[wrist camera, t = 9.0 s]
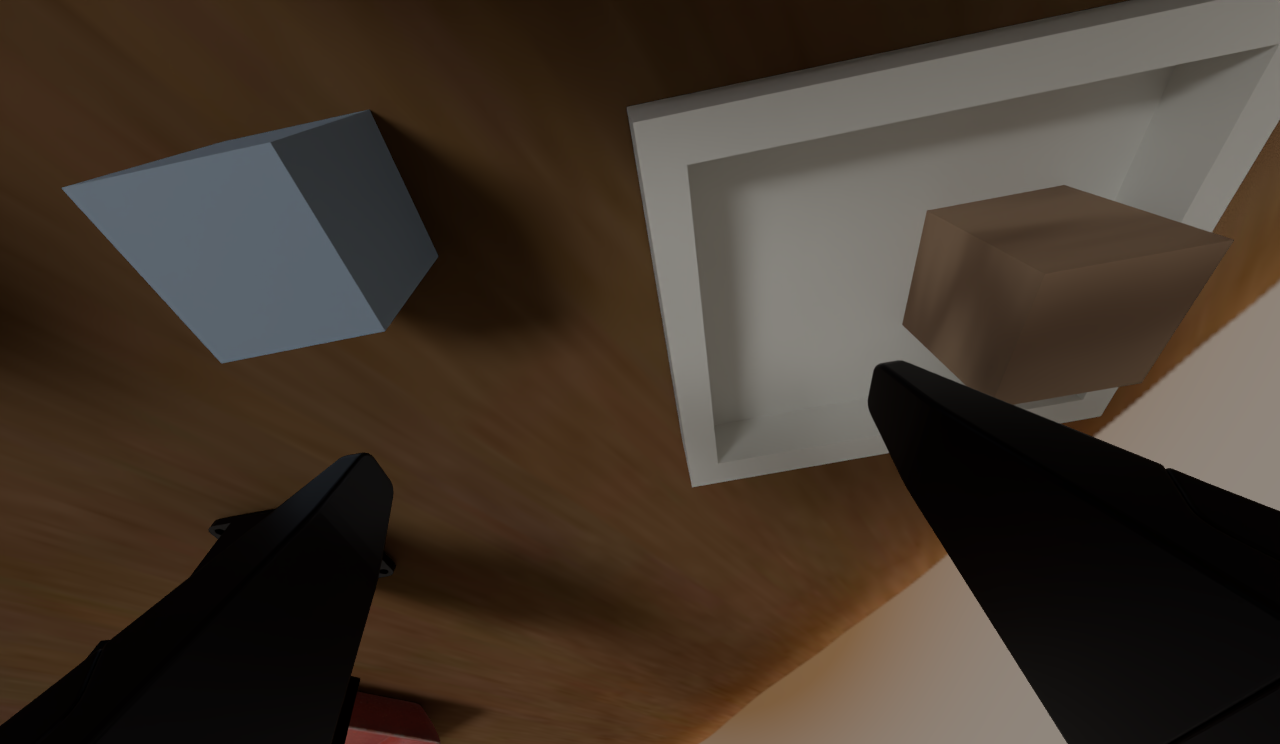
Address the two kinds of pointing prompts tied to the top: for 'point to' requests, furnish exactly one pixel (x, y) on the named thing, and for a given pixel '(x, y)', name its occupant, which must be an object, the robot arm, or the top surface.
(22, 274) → the top surface
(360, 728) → the plant saucer
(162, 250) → the slate block
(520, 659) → the top surface
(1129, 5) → the tray
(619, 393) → the top surface
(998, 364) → the walnut block
